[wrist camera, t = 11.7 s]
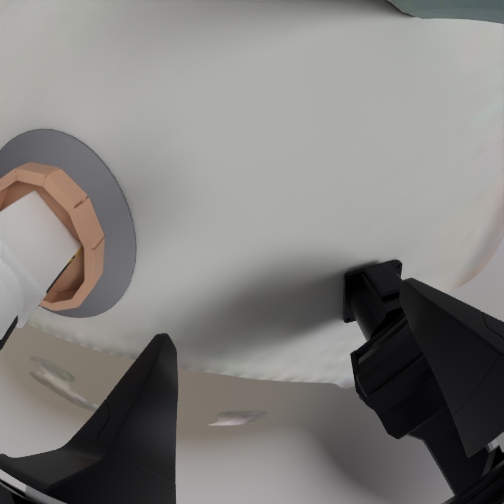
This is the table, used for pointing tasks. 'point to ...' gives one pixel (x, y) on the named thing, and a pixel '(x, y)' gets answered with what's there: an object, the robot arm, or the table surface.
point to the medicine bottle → (30, 258)
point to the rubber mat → (103, 201)
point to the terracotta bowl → (73, 217)
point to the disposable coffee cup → (453, 9)
